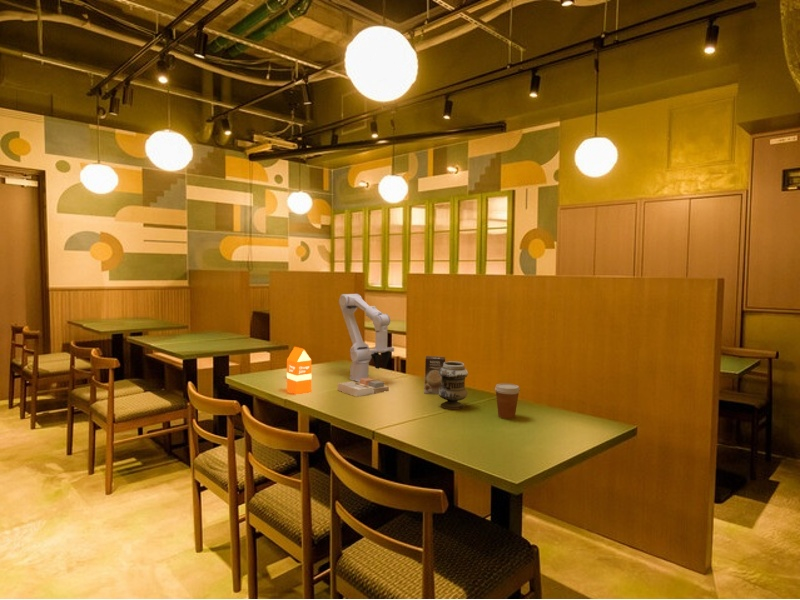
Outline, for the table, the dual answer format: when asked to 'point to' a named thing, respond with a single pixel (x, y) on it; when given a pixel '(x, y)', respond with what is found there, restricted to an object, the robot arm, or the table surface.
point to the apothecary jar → (453, 384)
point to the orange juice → (299, 372)
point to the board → (376, 390)
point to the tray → (354, 389)
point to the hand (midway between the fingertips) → (381, 367)
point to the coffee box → (433, 374)
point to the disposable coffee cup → (507, 400)
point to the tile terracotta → (366, 381)
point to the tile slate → (376, 384)
